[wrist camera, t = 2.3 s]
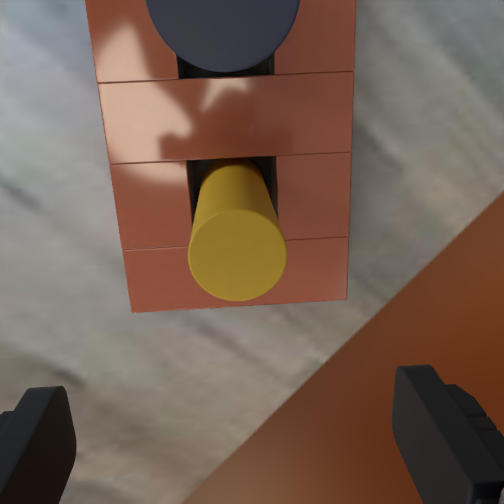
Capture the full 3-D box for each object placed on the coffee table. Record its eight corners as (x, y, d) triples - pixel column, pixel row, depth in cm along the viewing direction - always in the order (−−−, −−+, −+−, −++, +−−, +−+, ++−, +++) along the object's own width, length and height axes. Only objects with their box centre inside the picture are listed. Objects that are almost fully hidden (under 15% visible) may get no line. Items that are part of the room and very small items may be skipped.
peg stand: (87, -106, 26) (64, -135, 22) (342, -115, 27) (361, -145, 23) (141, 287, 35) (131, 313, 31) (334, 275, 35) (347, 300, 31)
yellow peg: (199, 157, 31) (183, 212, 19) (263, 153, 32) (286, 206, 19) (204, 218, 33) (192, 305, 21) (265, 214, 33) (288, 299, 21)
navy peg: (181, -12, 28) (132, -105, 13) (260, -15, 28) (301, -111, 13) (188, 72, 30) (152, 75, 15) (263, 69, 30) (302, 68, 15)
